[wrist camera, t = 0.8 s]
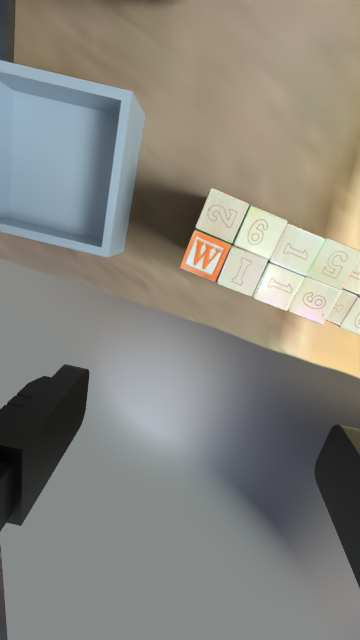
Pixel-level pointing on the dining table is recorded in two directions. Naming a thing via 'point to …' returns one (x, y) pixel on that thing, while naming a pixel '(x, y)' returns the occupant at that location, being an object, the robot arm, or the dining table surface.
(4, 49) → the socket block
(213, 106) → the dining table surface
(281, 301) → the stack of blocks
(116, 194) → the bin
